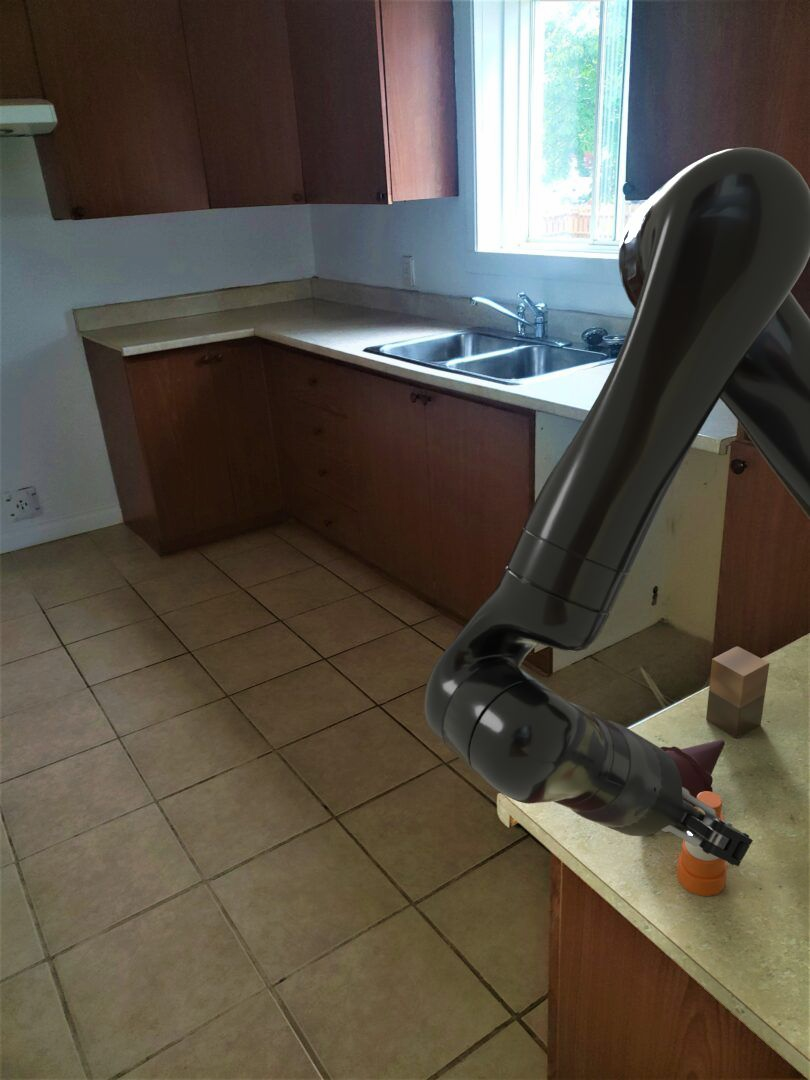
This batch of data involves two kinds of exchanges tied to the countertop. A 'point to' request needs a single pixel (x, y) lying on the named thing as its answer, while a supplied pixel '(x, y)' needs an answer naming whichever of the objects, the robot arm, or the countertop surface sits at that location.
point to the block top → (738, 676)
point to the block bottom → (734, 715)
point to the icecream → (696, 765)
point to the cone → (702, 860)
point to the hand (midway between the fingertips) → (693, 815)
